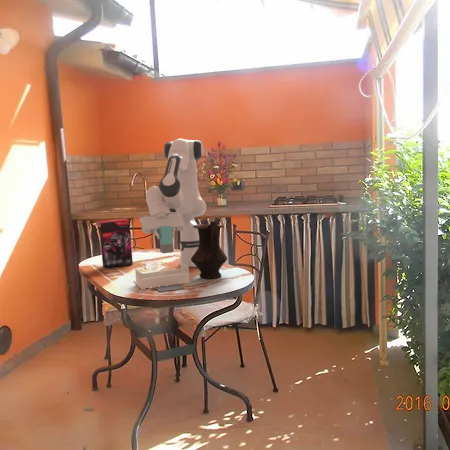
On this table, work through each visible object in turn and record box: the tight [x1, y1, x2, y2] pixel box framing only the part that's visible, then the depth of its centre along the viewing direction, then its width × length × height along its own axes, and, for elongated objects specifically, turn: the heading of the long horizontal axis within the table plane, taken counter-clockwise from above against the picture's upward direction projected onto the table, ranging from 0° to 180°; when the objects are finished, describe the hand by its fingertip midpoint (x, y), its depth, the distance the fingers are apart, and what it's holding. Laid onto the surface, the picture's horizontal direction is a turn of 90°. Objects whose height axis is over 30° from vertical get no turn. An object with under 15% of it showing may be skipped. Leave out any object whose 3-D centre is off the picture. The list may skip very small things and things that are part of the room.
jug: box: [191, 220, 228, 280], centre depth 255 cm, size 21×18×30 cm
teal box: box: [158, 226, 174, 254], centre depth 235 cm, size 5×5×12 cm
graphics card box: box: [98, 218, 134, 269], centre depth 295 cm, size 17×7×27 cm, turn 116°
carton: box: [133, 262, 190, 290], centre depth 251 cm, size 24×18×8 cm
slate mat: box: [153, 284, 185, 293], centre depth 238 cm, size 12×9×1 cm
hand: (166, 237), depth 235 cm, fingers closed on teal box, 5 cm apart
